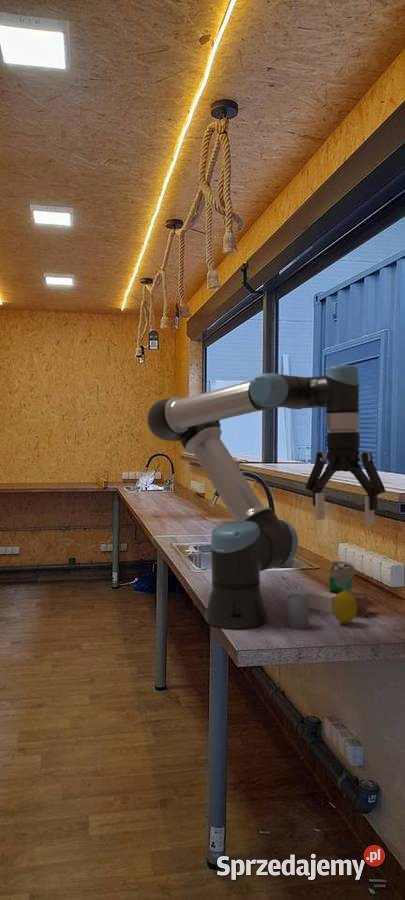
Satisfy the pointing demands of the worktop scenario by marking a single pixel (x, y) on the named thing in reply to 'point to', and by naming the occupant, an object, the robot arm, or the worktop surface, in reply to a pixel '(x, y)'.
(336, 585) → the food container
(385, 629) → the worktop surface
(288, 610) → the slate cylinder
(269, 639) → the worktop surface
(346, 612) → the lemon
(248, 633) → the worktop surface
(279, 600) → the worktop surface
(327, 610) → the off-white brick
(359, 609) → the walnut cube
